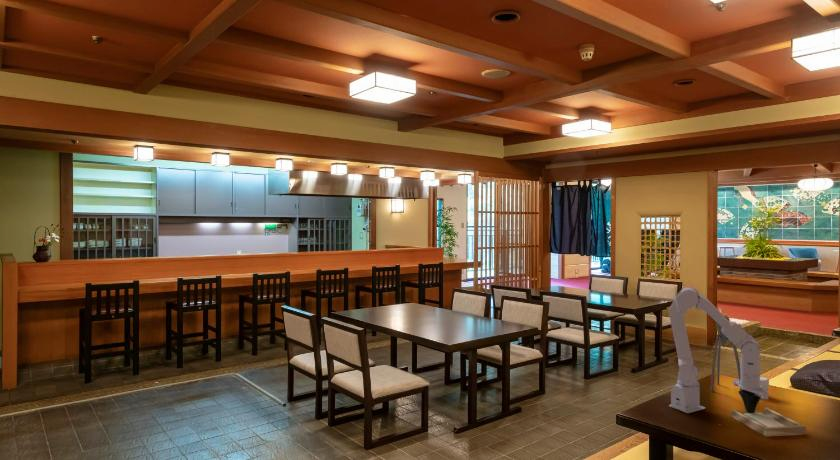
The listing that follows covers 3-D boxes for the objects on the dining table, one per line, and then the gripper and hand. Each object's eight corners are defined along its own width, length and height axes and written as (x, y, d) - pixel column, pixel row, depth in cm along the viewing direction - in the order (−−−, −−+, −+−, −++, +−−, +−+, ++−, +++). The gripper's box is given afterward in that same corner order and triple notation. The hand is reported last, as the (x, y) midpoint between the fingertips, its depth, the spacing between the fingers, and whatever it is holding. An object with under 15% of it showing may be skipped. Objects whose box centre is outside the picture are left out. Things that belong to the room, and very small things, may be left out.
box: (731, 416, 178) (731, 409, 178) (767, 414, 179) (767, 407, 179) (765, 436, 162) (765, 428, 162) (805, 434, 163) (805, 426, 163)
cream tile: (755, 426, 171) (755, 420, 171) (772, 425, 171) (772, 419, 171) (769, 433, 165) (769, 427, 165) (786, 432, 165) (786, 426, 165)
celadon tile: (743, 419, 177) (743, 413, 177) (760, 418, 177) (760, 412, 177) (756, 426, 171) (756, 420, 171) (773, 425, 171) (773, 419, 171)
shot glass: (768, 394, 199) (768, 376, 198) (769, 400, 193) (769, 381, 193) (748, 391, 202) (747, 374, 202) (748, 396, 196) (748, 379, 196)
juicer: (742, 392, 201) (741, 317, 200) (711, 391, 203) (711, 316, 202) (732, 384, 210) (732, 312, 210) (703, 383, 213) (702, 312, 212)
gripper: (776, 379, 170) (777, 420, 171) (746, 367, 185) (746, 404, 185) (756, 380, 170) (757, 421, 170) (727, 368, 184) (728, 405, 185)
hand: (750, 412), depth 178 cm, fingers closed
